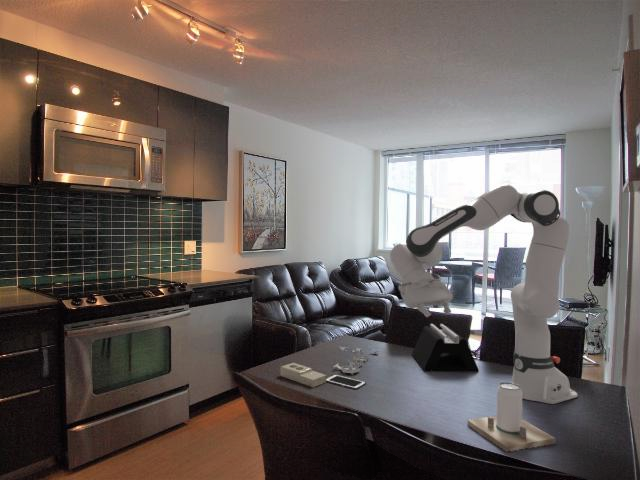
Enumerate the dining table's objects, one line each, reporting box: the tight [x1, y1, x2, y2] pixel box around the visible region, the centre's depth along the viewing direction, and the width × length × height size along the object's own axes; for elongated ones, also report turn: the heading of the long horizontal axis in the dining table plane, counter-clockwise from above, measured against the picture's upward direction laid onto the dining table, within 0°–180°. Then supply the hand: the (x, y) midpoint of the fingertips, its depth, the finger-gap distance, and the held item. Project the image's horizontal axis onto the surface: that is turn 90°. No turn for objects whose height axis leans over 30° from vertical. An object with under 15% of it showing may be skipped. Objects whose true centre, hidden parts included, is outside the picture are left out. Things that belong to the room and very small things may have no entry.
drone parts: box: [332, 344, 380, 376], centre depth 186 cm, size 23×35×3 cm, turn 154°
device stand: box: [411, 323, 480, 373], centre depth 182 cm, size 22×22×15 cm
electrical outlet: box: [280, 362, 327, 388], centre depth 162 cm, size 7×4×18 cm
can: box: [496, 381, 523, 433], centre depth 119 cm, size 6×6×12 cm
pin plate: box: [467, 415, 556, 453], centre depth 119 cm, size 16×16×4 cm
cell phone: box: [326, 374, 367, 391], centre depth 158 cm, size 8×15×1 cm, turn 54°
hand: (439, 314), depth 140 cm, fingers open, 8 cm apart
